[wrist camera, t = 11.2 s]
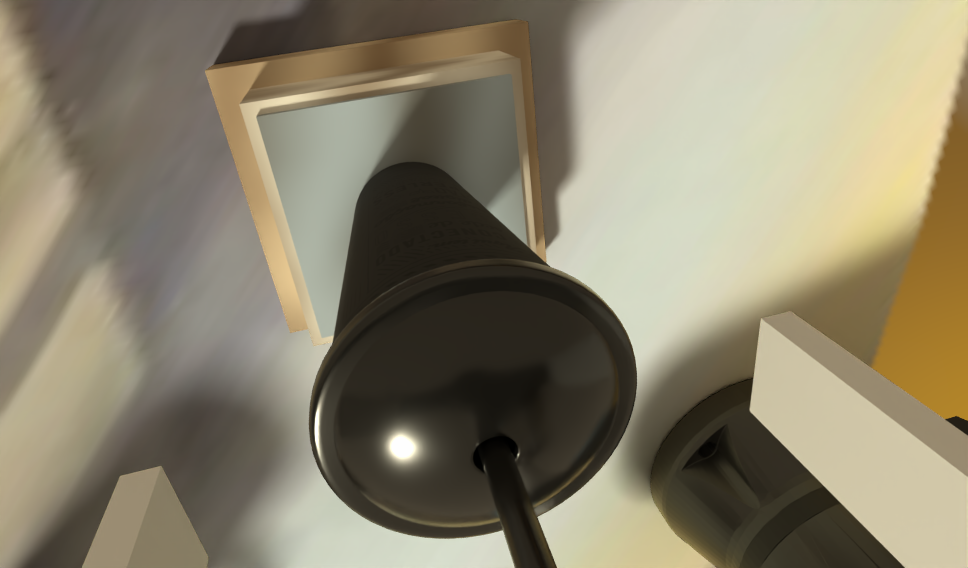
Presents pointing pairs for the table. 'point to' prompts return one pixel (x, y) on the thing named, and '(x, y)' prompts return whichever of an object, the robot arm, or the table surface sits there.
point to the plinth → (376, 143)
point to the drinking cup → (463, 372)
